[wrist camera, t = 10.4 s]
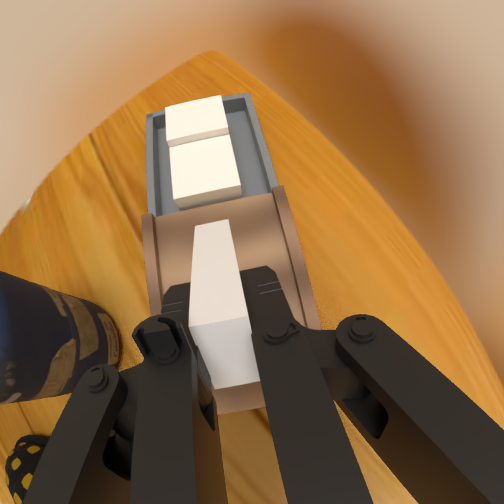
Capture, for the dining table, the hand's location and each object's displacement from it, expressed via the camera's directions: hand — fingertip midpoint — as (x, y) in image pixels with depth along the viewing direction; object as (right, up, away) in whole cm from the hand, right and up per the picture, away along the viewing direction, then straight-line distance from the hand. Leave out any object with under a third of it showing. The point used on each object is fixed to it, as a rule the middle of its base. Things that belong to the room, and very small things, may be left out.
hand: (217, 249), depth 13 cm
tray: (-4, +10, +19) cm, 22 cm away
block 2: (-3, +6, +17) cm, 18 cm away
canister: (-16, -10, +13) cm, 23 cm away
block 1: (-4, +10, +15) cm, 19 cm away
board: (0, -5, +14) cm, 15 cm away
